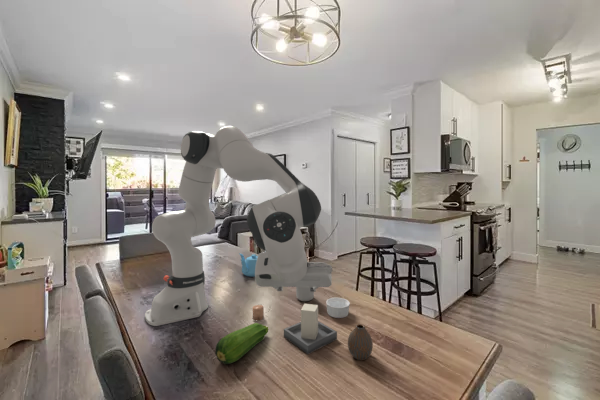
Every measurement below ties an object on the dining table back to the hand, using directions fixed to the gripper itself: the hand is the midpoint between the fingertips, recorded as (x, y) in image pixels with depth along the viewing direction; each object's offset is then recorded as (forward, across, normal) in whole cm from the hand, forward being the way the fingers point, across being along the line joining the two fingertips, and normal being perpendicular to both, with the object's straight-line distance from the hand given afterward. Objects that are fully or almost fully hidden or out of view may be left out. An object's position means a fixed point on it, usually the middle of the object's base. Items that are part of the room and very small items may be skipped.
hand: (296, 289), depth 81 cm
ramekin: (+33, -11, -6) cm, 35 cm away
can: (+40, +2, -15) cm, 43 cm away
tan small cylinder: (+27, +18, -2) cm, 32 cm away
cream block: (+20, -2, +6) cm, 21 cm away
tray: (+20, -2, +7) cm, 21 cm away
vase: (+16, -17, +13) cm, 26 cm away
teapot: (+59, +34, -37) cm, 78 cm away
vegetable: (+14, +16, +12) cm, 25 cm away
